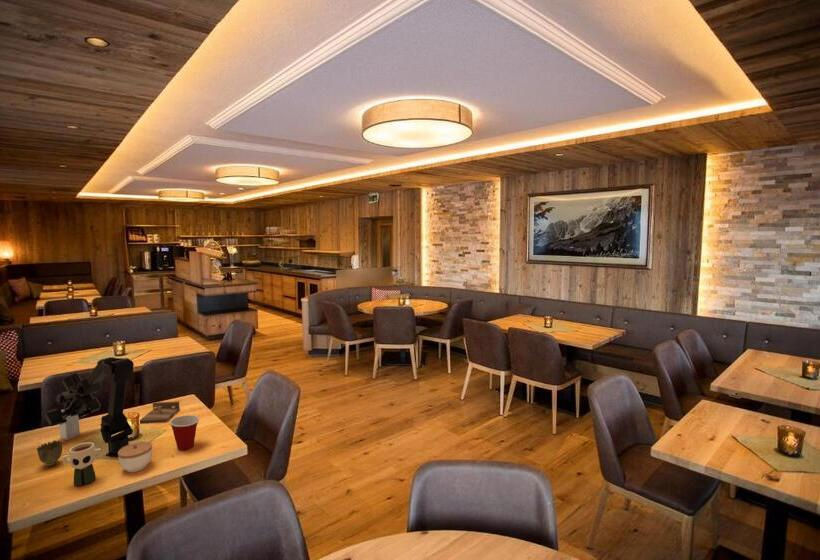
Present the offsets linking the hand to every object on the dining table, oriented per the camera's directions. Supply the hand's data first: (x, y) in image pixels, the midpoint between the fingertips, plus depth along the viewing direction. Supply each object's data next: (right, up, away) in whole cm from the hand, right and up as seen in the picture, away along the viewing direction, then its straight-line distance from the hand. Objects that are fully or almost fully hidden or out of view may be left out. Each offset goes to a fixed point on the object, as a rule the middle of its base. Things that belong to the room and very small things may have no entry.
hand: (67, 421), depth 183 cm
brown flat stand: (+29, -4, +20) cm, 35 cm away
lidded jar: (+47, -9, -25) cm, 54 cm away
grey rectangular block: (+1, -7, 0) cm, 7 cm away
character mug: (+34, -10, -34) cm, 49 cm away
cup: (+13, -9, -23) cm, 27 cm away
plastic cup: (+57, -8, -10) cm, 59 cm away
